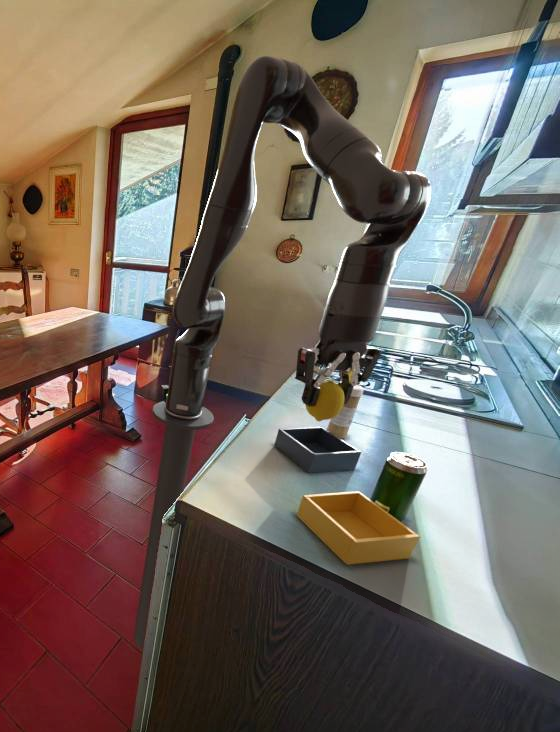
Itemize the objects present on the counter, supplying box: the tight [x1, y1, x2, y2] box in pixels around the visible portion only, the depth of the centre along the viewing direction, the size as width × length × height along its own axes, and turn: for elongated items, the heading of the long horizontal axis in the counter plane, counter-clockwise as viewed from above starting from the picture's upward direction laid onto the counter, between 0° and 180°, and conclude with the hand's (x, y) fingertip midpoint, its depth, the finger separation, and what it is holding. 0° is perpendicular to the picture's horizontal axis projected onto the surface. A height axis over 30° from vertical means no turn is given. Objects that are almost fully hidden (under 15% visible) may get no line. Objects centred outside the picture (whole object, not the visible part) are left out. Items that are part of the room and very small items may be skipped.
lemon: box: [305, 379, 344, 422], centre depth 69 cm, size 6×6×8 cm
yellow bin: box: [296, 490, 421, 565], centre depth 66 cm, size 11×11×5 cm
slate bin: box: [273, 426, 362, 474], centre depth 88 cm, size 11×11×5 cm
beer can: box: [369, 451, 429, 523], centre depth 69 cm, size 5×5×12 cm
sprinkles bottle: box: [325, 384, 365, 439], centre depth 97 cm, size 5×5×13 cm
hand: (323, 403), depth 69 cm, fingers closed on lemon, 5 cm apart
